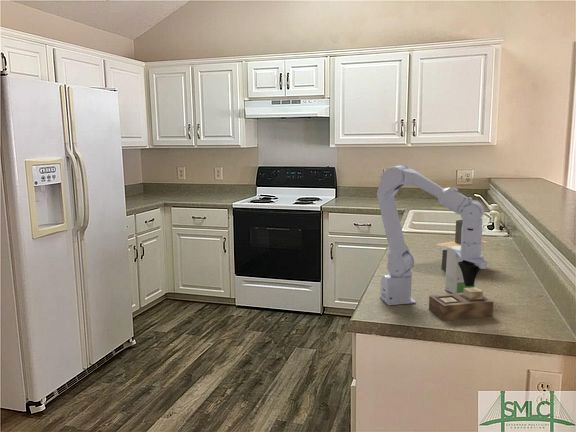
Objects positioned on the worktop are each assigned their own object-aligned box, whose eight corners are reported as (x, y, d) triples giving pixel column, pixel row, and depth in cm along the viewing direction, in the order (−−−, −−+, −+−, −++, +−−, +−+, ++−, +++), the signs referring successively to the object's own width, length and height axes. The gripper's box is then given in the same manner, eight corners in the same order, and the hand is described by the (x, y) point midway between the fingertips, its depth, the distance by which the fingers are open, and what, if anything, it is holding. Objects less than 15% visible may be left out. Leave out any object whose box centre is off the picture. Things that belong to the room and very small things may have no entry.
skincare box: (455, 295, 162) (457, 250, 159) (443, 289, 168) (445, 246, 165) (476, 293, 164) (478, 248, 161) (463, 287, 170) (466, 244, 167)
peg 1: (445, 316, 143) (445, 302, 143) (438, 311, 147) (439, 298, 146) (457, 314, 144) (458, 301, 143) (450, 310, 148) (451, 297, 147)
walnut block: (443, 320, 141) (444, 305, 140) (428, 309, 149) (429, 294, 148) (492, 315, 144) (493, 300, 143) (475, 305, 152) (476, 291, 151)
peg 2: (470, 305, 144) (470, 292, 144) (462, 301, 148) (463, 288, 147) (482, 304, 145) (482, 291, 144) (474, 300, 149) (475, 287, 148)
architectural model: (450, 284, 174) (453, 231, 171) (403, 267, 196) (404, 220, 193) (519, 269, 192) (523, 221, 189) (468, 255, 214) (471, 212, 211)
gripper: (498, 246, 137) (495, 292, 139) (470, 235, 151) (467, 277, 153) (475, 247, 135) (473, 293, 138) (449, 237, 149) (447, 279, 152)
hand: (468, 285), depth 145 cm, fingers closed
